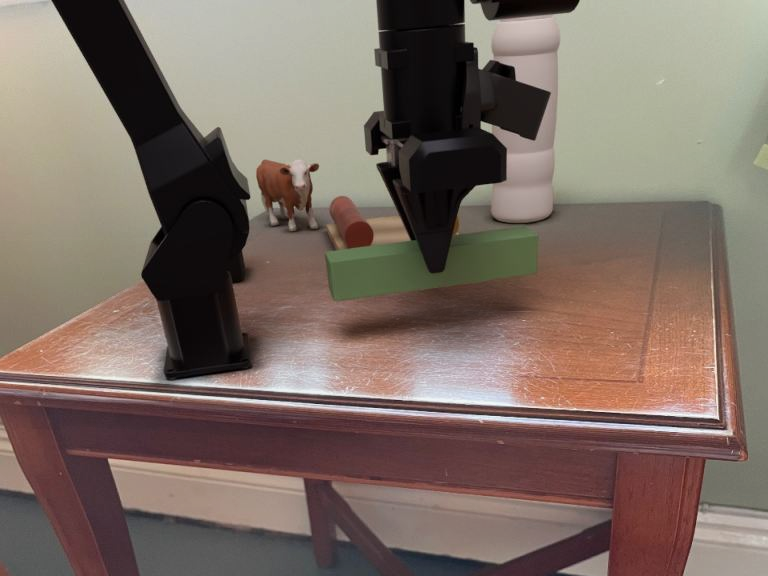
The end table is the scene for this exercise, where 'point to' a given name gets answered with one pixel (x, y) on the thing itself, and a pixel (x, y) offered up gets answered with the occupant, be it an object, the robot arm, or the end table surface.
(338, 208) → the rod stand
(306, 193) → the bull figurine
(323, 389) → the end table surface
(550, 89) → the water bottle
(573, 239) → the end table surface
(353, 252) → the green bar
